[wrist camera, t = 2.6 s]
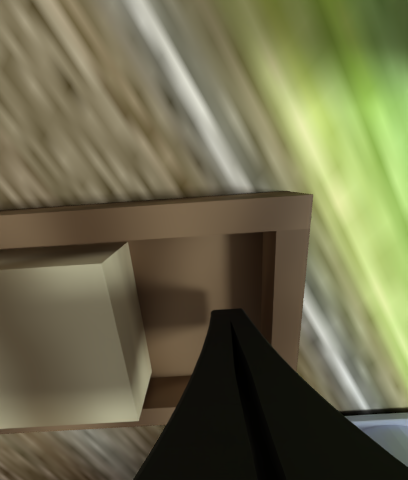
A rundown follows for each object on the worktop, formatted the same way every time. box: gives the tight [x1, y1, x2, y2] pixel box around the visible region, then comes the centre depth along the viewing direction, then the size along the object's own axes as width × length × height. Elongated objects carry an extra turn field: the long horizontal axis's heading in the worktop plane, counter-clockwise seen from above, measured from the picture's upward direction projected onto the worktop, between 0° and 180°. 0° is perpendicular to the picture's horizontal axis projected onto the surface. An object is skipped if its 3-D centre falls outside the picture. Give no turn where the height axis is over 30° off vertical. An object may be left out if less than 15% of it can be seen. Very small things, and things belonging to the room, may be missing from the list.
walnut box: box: [0, 191, 313, 434], centre depth 9 cm, size 15×11×2 cm
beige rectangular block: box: [0, 242, 152, 429], centre depth 9 cm, size 6×8×2 cm
